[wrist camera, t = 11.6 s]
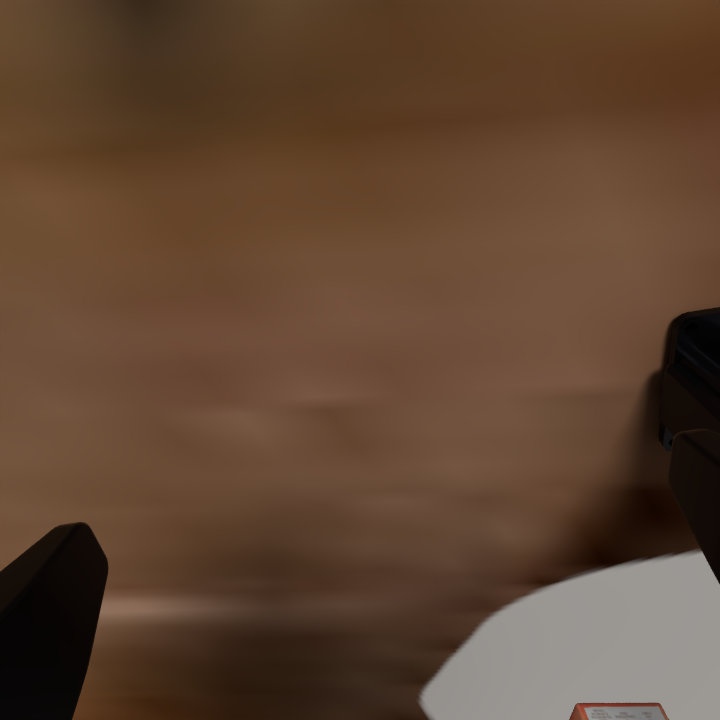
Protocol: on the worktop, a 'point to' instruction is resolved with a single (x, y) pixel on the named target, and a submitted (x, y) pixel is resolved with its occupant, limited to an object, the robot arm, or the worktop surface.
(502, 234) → the worktop surface
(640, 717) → the cracker box
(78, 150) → the worktop surface
